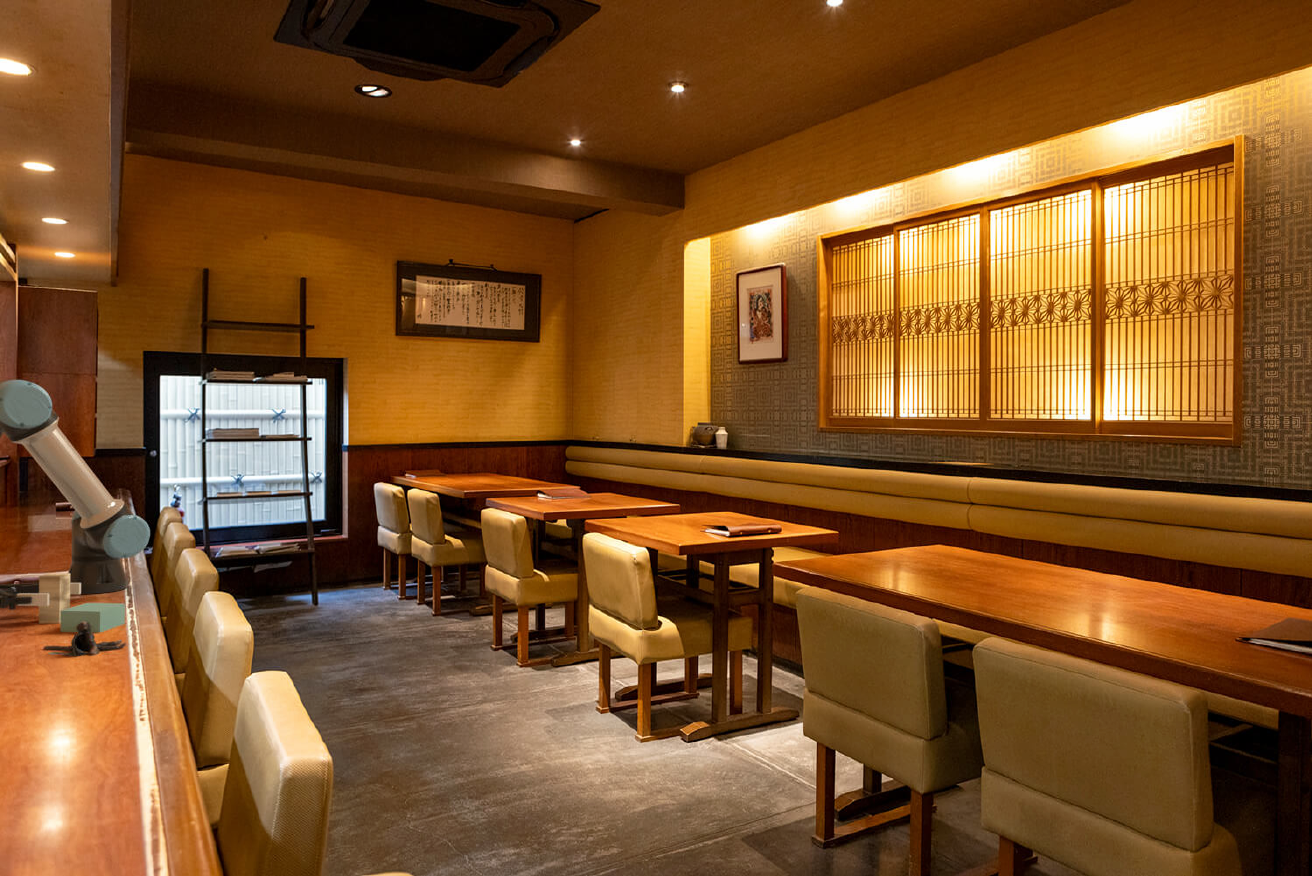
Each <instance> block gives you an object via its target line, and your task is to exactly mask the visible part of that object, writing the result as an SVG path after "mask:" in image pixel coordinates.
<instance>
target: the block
mask: <svg viewBox="0 0 1312 876" xmlns="http://www.w3.org/2000/svg"><path fill="white" fill-rule="evenodd" d="M38 577H39V579H38V582H39V594H49V605H48V606H38V624H61V611H62V610H65V609H68V608H71V594H70V573H68V572H64V573H62V572H56V573H53V572H51V573H47V574H42V575H40V576H38Z"/></svg>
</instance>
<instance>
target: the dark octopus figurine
mask: <svg viewBox="0 0 1312 876" xmlns="http://www.w3.org/2000/svg"><path fill="white" fill-rule="evenodd" d="M91 628H92V625H91V624H90V623H89V622H85V621H84V622H82V623H80V624H78V625H77V626H76V629H77V631H78V632H76V634H74V635H73V637H72V639H71V645H68V646H67V645H65V646H64V645H63V646H60V645H53V644H52V645H46V646H43V649H44V650H45V651H51V652H48V653H47V654H48V655H56V656H63V657H76V658H77V657H82V656H83V657H84V656H87V655H89V656H97V655H98V654H100V653H102V652H108V651H117V650H121V649H124V647H126V646H127V643H126V642H123V641H122V639H119V640H116V641H109V642H108V641H102V642H99V643H97V641H96V640H95V635H94V633H92V632H91ZM122 642H123V643H122ZM53 651H54V652H53ZM62 651H64V652H62Z"/></svg>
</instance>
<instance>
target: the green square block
mask: <svg viewBox="0 0 1312 876" xmlns="http://www.w3.org/2000/svg"><path fill="white" fill-rule="evenodd" d="M84 621H85V622H89V623H90V624H91V625H92V628H91V633H93V634H95V633H103V632H106V631H108V630H111V629H114V628H116V627H119V626H123V625H125V623H126V603H122V602H121V603H116V602H115V603H113V602H85V603H82V604H78V605H75V606H72V607H71V606H70V608H68V609H65V610H62V611H61V623H60V632H61V633H78V631H77V629H76V626H77V625H78V624H80V623H82V622H84Z"/></svg>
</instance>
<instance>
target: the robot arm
mask: <svg viewBox="0 0 1312 876" xmlns="http://www.w3.org/2000/svg"><path fill="white" fill-rule="evenodd" d="M59 420H60V417H59V416H58V414H57V413H56V412H55V410H54V409H53V402H52V399H51V397H50V395H49V393H48V392H47V391H46V390H45V389H44V388H43V387H41V386H40V385H38V384H36V383H35V382H31V381H27V380H24V379H10V380H9V379H8V380H0V439H1V438H2V436H3V434H4V435H5V436H6V437H7V438H8V439H9V441H10V442H11V443H14V444H19V445H22V446H23V447H24V448H25V449H26V451H27V452H28V453H29V454H30V456H31V457H32V458H33V459H34V460H35V461H36V463H37V464H38V466H40V468H41V469H42V471H43V472H44V473H45V474H46V476H47V477H48V478H49V479H50V480H51V482H53V484H54V485H55V486H56V487H57V489H58V490H59V491H60V493H61V494H62V496H63V497H65V499H66V500H67V501H68V503H69V504H70V506H72V508H73V509H74V511H73V512H72V517H71V521H70V523H71V564H70V567H69V570H68V571H67V573H70V595H85V594H86V595H90V594H91V595H92V594H102V593H111V592H118V591H121V590H125V589H127V588H128V583H129V582H128V577H127V575H126V572H125V569H124V565H123V564H122V559H128V558H132V557H135V556H137V555H139V554H140V553H141V552H143V550H144V549H146V547H147V545H148V543H149V540H150V537H151V529H150V527H149V524H148V523H147V521H146V520H144V519H143V518H142V517H140V516H139V515H135V514H134V513H133V512H132V511H131V509H130V508H129V507H128V505H127V504H126V503H125V501H124V500H122V499H115V498H114V497H113V496H112V495H111V493H109V491H108V490H107V489H106V487H105V486H104V485H103V483H102V482H101V481H100V479H99V478H98V477H97V475H96V474H95V473H94V472H93V470H92V469H91V468H90V466H89V465H88V464H87V463H86V461H85V460H84V459H83V457H82V456H81V454H79V451H77V450H76V449H75V447H74V446H73V445H72V443H71V442H70V441H69V439H68V438H67V436H66V435H65V434H64V433H63V432H62V430H61V429H60V428H59V426H58V423H59ZM48 605H49V594H39V581H38V582H26V583H6V584H5V583H4V584H3V583H2V584H0V609H6V608H8V610H10V611H11V610H16V607H39V606H48Z"/></svg>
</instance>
